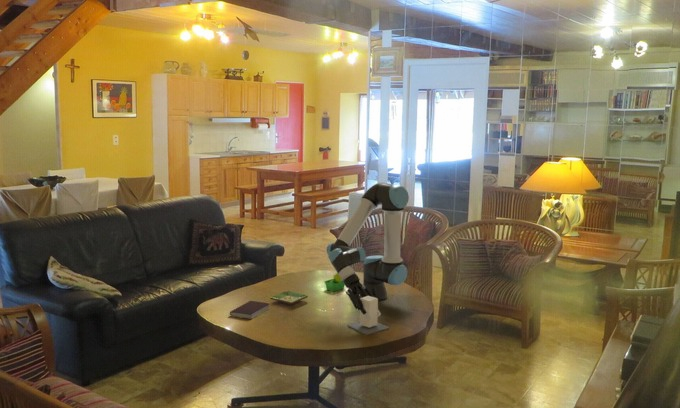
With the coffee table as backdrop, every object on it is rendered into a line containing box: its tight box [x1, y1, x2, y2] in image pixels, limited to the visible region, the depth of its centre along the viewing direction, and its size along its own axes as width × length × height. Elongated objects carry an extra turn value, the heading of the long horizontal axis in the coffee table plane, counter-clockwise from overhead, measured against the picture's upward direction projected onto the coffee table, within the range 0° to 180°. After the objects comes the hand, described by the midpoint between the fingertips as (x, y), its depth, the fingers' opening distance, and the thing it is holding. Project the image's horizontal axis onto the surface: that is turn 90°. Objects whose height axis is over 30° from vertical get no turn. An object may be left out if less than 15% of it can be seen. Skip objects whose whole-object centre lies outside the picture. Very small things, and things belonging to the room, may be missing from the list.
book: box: [229, 300, 271, 320], centre depth 303 cm, size 12×19×3 cm, turn 157°
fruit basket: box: [324, 272, 345, 292], centre depth 342 cm, size 11×9×11 cm
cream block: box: [359, 296, 379, 328], centre depth 282 cm, size 6×6×13 cm
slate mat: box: [347, 321, 390, 336], centre depth 283 cm, size 14×14×1 cm
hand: (374, 317), depth 280 cm, fingers closed on cream block, 6 cm apart
